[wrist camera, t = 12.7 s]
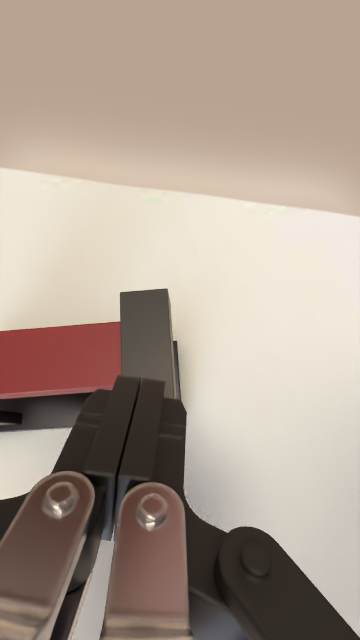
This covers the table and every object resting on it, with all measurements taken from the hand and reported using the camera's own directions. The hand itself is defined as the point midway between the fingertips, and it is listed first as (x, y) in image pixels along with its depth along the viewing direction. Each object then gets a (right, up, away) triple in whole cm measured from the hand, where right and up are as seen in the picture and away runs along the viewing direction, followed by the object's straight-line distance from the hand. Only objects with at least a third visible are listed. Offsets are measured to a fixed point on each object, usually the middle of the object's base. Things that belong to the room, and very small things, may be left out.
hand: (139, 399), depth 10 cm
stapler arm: (-5, 0, +7) cm, 9 cm away
